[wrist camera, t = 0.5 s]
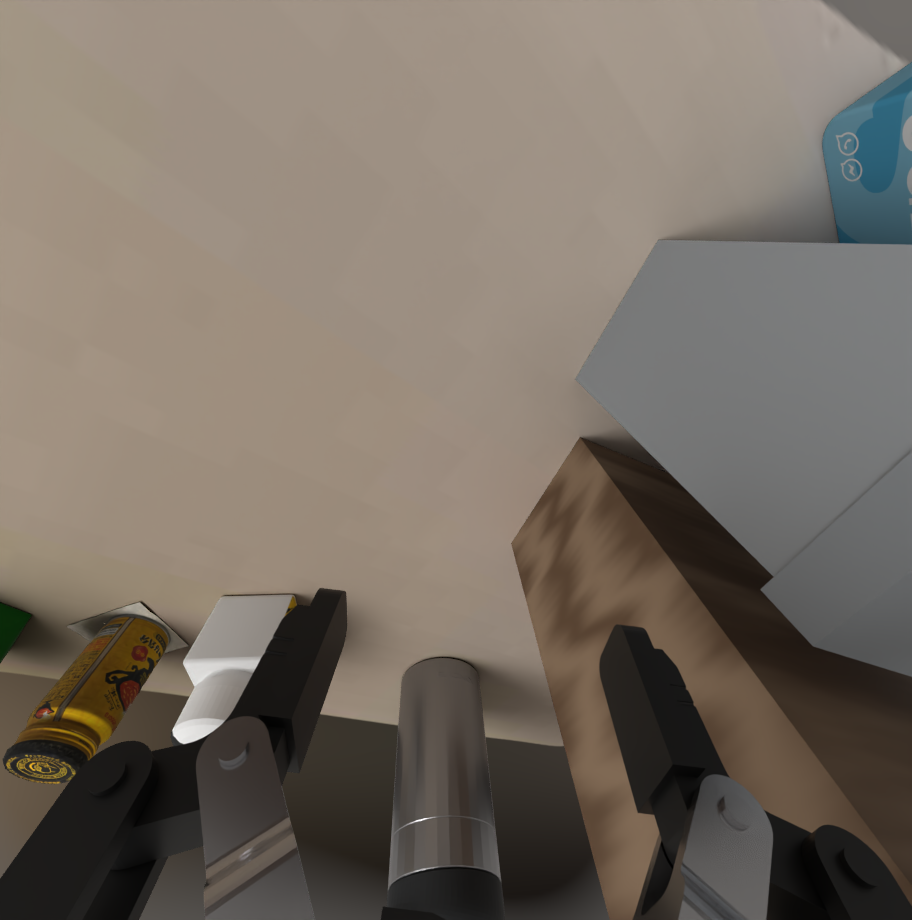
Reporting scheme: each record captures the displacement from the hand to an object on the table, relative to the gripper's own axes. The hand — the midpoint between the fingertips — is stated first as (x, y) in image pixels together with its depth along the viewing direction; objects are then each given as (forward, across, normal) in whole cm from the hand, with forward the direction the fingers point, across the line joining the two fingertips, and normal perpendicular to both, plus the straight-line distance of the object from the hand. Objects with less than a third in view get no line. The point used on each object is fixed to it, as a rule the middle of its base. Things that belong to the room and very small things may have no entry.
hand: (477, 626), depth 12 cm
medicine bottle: (+19, -18, -26) cm, 37 cm away
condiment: (+18, -32, -29) cm, 46 cm away
